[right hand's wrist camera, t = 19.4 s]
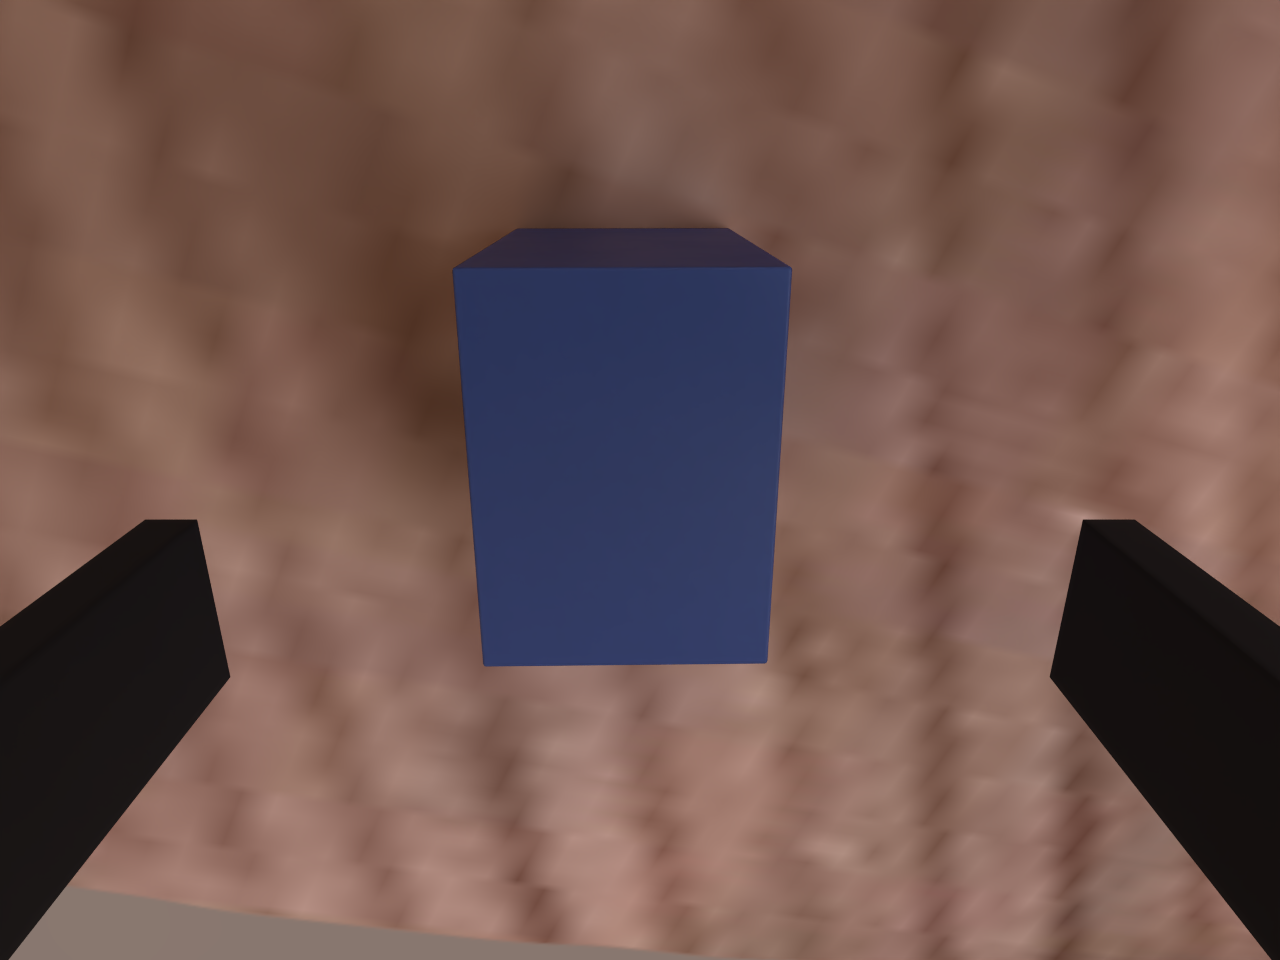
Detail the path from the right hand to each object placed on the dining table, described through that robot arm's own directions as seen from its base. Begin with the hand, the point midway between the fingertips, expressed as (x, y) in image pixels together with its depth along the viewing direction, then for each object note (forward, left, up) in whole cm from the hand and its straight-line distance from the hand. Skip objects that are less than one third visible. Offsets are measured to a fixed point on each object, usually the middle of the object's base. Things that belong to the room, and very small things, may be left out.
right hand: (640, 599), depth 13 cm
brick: (0, 0, -16) cm, 16 cm away
